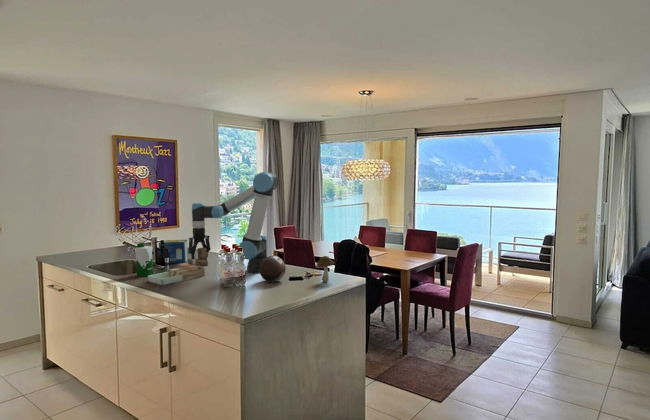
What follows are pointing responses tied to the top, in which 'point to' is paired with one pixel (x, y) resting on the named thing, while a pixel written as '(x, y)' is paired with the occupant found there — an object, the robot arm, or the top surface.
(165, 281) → the tray
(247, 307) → the top surface
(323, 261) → the mushroom
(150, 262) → the milk carton
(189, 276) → the bench plate
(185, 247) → the protein box
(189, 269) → the tile
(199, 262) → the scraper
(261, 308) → the top surface
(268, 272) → the wooden sphere
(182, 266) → the tile
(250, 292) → the top surface
